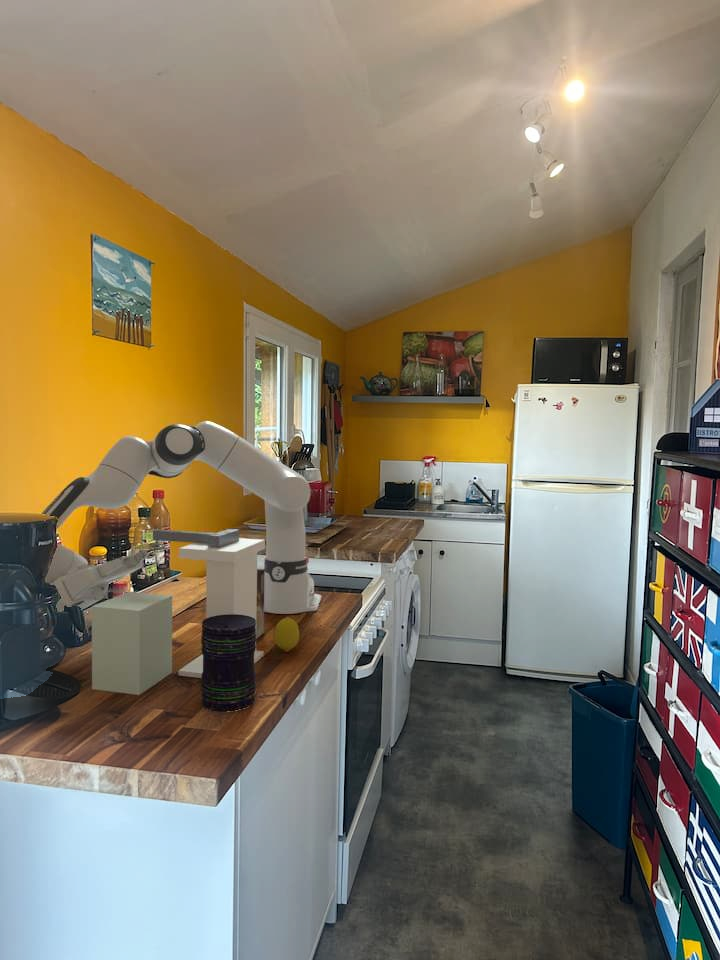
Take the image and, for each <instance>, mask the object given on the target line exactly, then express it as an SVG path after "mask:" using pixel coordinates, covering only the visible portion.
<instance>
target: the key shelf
mask: <svg viewBox="0 0 720 960" xmlns="http://www.w3.org/2000/svg"><path fill="white" fill-rule="evenodd" d="M264 550H266V539H259V538H257V539H256V538H243V537H241V538H240V537H239V541H237V542H234V543H231V544H228V545H226V546H223V547H220V548H211V547H208V544H206V543H190V544H187V545H184V546H182V547H179V548H178V559H185V560H187V559H188V560H197V561H198V560H199V561H206V569H205V570H206V575H205V576H206V577H205V578H206V579H205V580H206V581H205V582H206V583H205V585H206V587H205V590H206V591H205V592H206V594H205V595H206V596H205V597H206V598H205V600H206V601H205V605H206V606H205V619H206V618H209V617H213V616H217V615H227V614H237V615H246V616H250V617H252V618H254V619H255V620H256V613H257V569H258V553H259V552H261V551H264ZM255 628H256V626H255ZM255 643H256V644H257V641H256V642H255ZM264 656H265V653H264V650H257V647H256V648H255V652H254V665H255V664H256V663H257V662H259V660H260V659H261V657H262V658H263V657H264ZM202 672H203V654H202V653H201V654H200V655H199V656H198V657H196V658H195V659H194V660H191V661H190V662H189V663H187V664H186V665H185V666H183V667H182V668H180V669H179V670H178V672H177V673H178V676H180V677H181V676H182V677H190V678H199V679H202Z"/></svg>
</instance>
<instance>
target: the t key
mask: <svg viewBox="0 0 720 960" xmlns="http://www.w3.org/2000/svg"><path fill="white" fill-rule="evenodd" d="M239 538H240V529H236V528H235V529H234V528H228V529H225V530H221V531H219V532H205V531H204V532H203V531H188V530H170V529H155V530H152V541H161V542H163V541H164V542H177V543H178V542H179V543H190V544H194V543H206V544H208V547H211V548H220V547H223V546H226V545H228V544H231V543H234V542H237V541H239Z"/></svg>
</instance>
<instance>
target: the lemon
mask: <svg viewBox="0 0 720 960" xmlns="http://www.w3.org/2000/svg"><path fill="white" fill-rule="evenodd" d="M299 640H300V629H299V625H298V623H297V622H296V621H295V620H293V618H290V617H289V616H286V617H285V618H282V619H281V620H279V621H278V623H277V624H276V625H275V629H274V641H275V644H276V646H277V647H278V648H280V649H282V650H283V651H284V652H286V653H289V651H291V650H292V649H293V648H295V647H296V646H297V645H298V642H299Z"/></svg>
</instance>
